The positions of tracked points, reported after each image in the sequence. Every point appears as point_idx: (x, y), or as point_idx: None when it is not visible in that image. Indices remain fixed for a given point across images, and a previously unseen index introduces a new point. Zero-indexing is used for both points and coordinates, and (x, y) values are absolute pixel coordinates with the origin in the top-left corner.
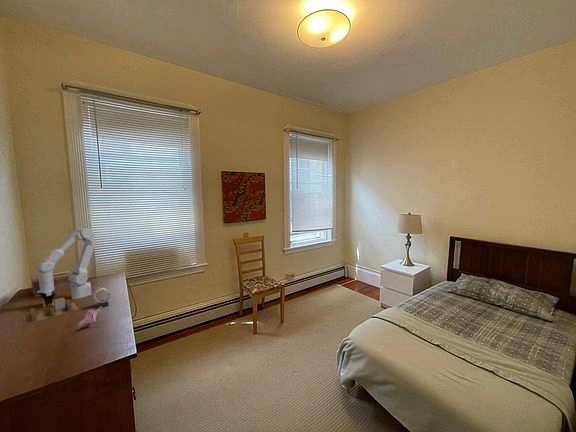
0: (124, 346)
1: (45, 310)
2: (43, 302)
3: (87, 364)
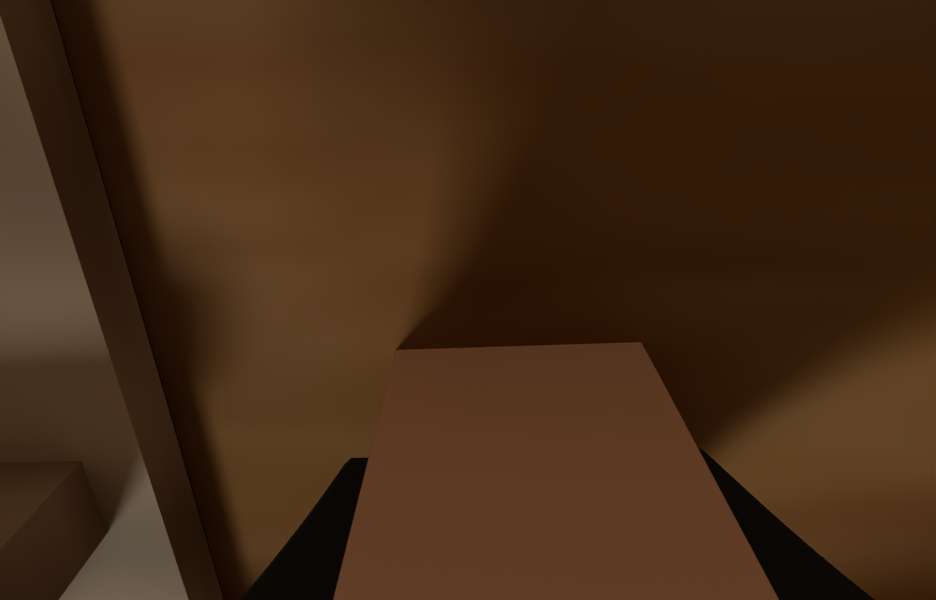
0: None
1: (37, 402)
2: (386, 537)
3: None
